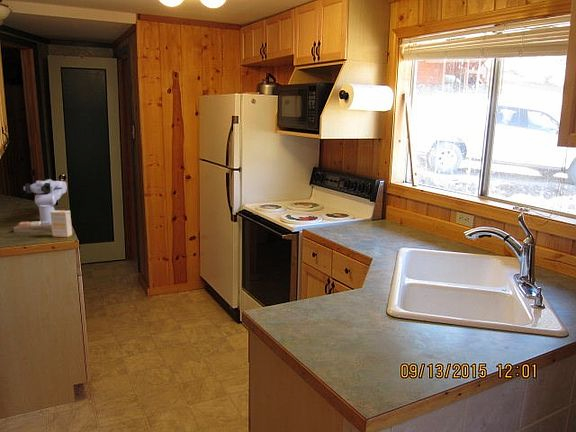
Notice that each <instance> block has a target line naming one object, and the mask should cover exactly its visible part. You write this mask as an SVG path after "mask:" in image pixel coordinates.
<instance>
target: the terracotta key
mask: <svg viewBox="0 0 576 432" xmlns="http://www.w3.org/2000/svg"><path fill="white" fill-rule="evenodd" d="M30 222H31V221H21V222H19V223H18V224H19V226H29V225H30Z"/></svg>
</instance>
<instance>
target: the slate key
mask: <svg viewBox="0 0 576 432" xmlns="http://www.w3.org/2000/svg"><path fill="white" fill-rule="evenodd" d="M51 224H52V223H51V221H43V222H42V225H51Z"/></svg>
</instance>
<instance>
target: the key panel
mask: <svg viewBox="0 0 576 432" xmlns="http://www.w3.org/2000/svg"><path fill="white" fill-rule="evenodd" d="M29 222H30V223H31V222H32V221H29ZM48 231H50V232H52V224H51V225H42V222H41V225H38V226H30V225H29V226H19V223H18V224H17V225H15V226H14V227H13V233H14V234H15V233H16V234H17V233H43V232H45V233H46V232H47V233H48Z"/></svg>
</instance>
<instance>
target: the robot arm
mask: <svg viewBox="0 0 576 432" xmlns="http://www.w3.org/2000/svg"><path fill="white" fill-rule="evenodd" d="M67 185H68V183H67V182H66V181H64V180H63V181H62V180H52V179H51V178H49V179H48V178H47V179H45V180H36V181H35V182H34V183H32V184H31V183H27V182H26V183H25V184H24V186H23V191H25V194H27V195H31V194H32V193H35V194H36V195H35V197H34V203H35V205H36V206H37V207H38V212H39V221H41V222H43V221H51V213H50V212H52V211H54V210H56V209H55V207H54V206H55V205H56V203H57V201H59V200H60V199H61V197H62V196H63V195H64V194H66V193H67V189H68V186H67ZM43 193H44V194H43Z"/></svg>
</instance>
